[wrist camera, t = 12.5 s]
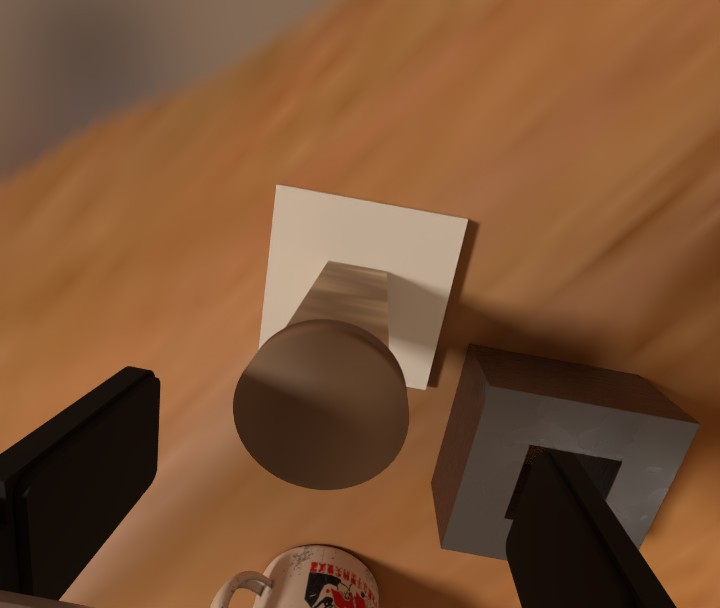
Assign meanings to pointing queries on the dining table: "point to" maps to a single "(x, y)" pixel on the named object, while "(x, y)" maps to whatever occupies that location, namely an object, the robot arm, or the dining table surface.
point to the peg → (327, 387)
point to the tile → (366, 264)
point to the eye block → (551, 443)
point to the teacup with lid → (307, 581)
